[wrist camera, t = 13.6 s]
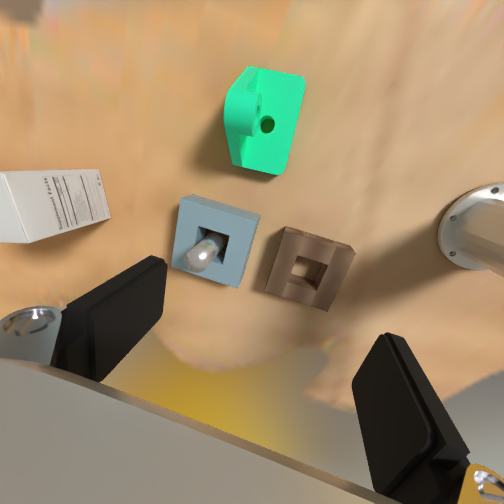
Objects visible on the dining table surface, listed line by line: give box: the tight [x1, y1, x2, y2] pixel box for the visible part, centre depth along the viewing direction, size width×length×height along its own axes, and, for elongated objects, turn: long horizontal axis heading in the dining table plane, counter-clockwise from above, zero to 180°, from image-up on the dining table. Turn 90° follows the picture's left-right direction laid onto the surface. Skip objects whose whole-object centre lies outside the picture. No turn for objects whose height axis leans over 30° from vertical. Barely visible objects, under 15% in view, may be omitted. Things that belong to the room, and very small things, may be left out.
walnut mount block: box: [265, 226, 356, 312], centre depth 39 cm, size 11×11×4 cm
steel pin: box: [184, 231, 228, 273], centre depth 36 cm, size 3×3×11 cm
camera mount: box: [224, 66, 305, 175], centre depth 29 cm, size 12×8×10 cm, turn 168°
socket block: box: [171, 194, 261, 288], centre depth 39 cm, size 12×12×4 cm
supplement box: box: [0, 169, 111, 243], centre depth 35 cm, size 9×9×15 cm
